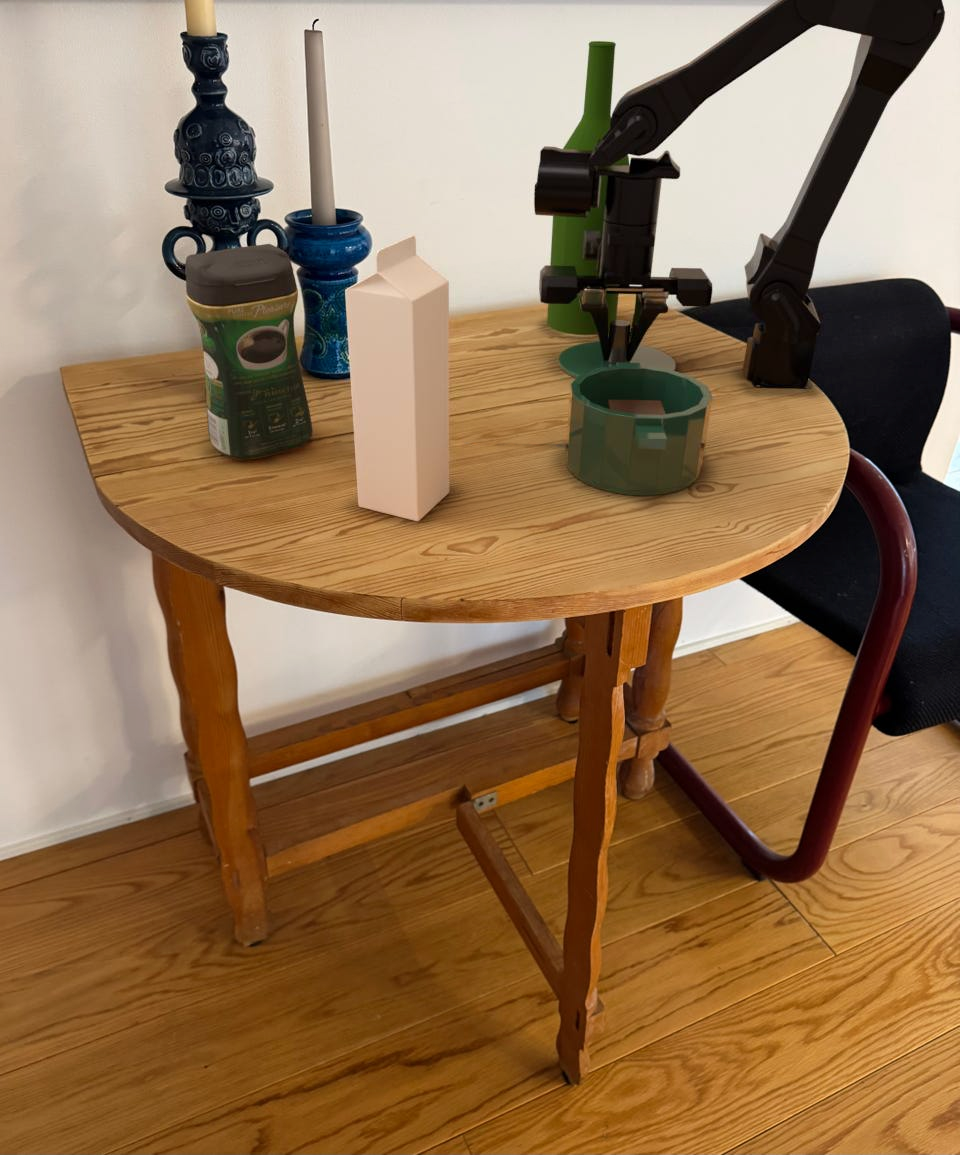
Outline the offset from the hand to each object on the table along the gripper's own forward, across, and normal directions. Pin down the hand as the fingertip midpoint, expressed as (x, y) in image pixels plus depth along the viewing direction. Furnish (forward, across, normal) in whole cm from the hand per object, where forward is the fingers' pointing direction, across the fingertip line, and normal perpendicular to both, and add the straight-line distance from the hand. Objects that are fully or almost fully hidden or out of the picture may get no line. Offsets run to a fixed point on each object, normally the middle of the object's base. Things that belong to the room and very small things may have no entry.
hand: (616, 359), depth 110 cm
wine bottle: (+1, +3, -15) cm, 15 cm away
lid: (+1, 0, 0) cm, 1 cm away
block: (+1, +1, +25) cm, 25 cm away
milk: (+1, +22, +33) cm, 40 cm away
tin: (+1, +1, +25) cm, 25 cm away
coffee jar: (+1, +37, +22) cm, 43 cm away
